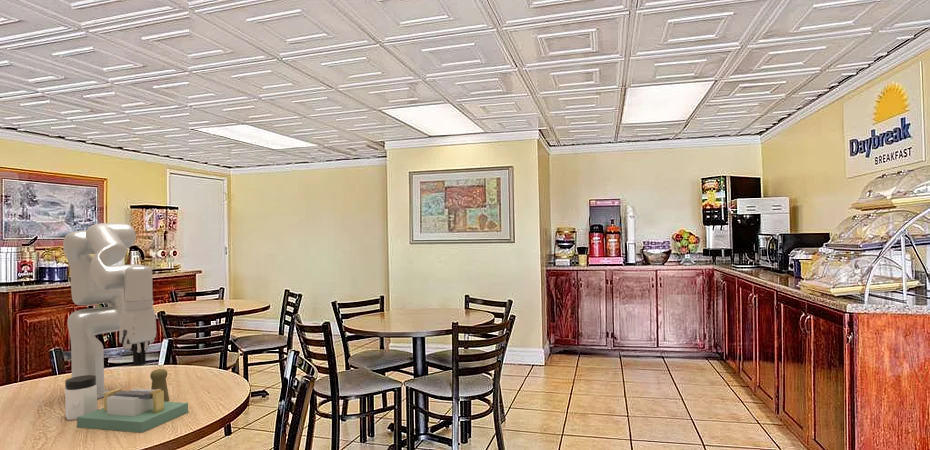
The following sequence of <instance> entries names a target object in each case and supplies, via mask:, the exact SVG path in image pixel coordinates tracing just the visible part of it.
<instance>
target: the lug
mask: <svg viewBox="0 0 930 450" xmlns="http://www.w3.org/2000/svg"><path fill="white" fill-rule="evenodd" d="M151 394H153V413H158V412H161V411H163V410H164V391H161V389H156V390H154V391H151Z"/></svg>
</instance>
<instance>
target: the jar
mask: <svg viewBox="0 0 930 450" xmlns="http://www.w3.org/2000/svg"><path fill="white" fill-rule="evenodd" d="M64 381H65V382H64V384H65V385H64V396H65V397H64V399H65V400H64V403H65V404H64V405H65V408H64V409H65V413H64V415H65V418H66V420H67V421H73V420H74V421H75V420H76V421H77V417H79V416H82V415H85V414H88V413H90V412H93V411H96V410H98V399H97V385H96V376H94V375H85V376H78V377H73V378H72V377H70V378H67V379H66V380H64Z"/></svg>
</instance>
